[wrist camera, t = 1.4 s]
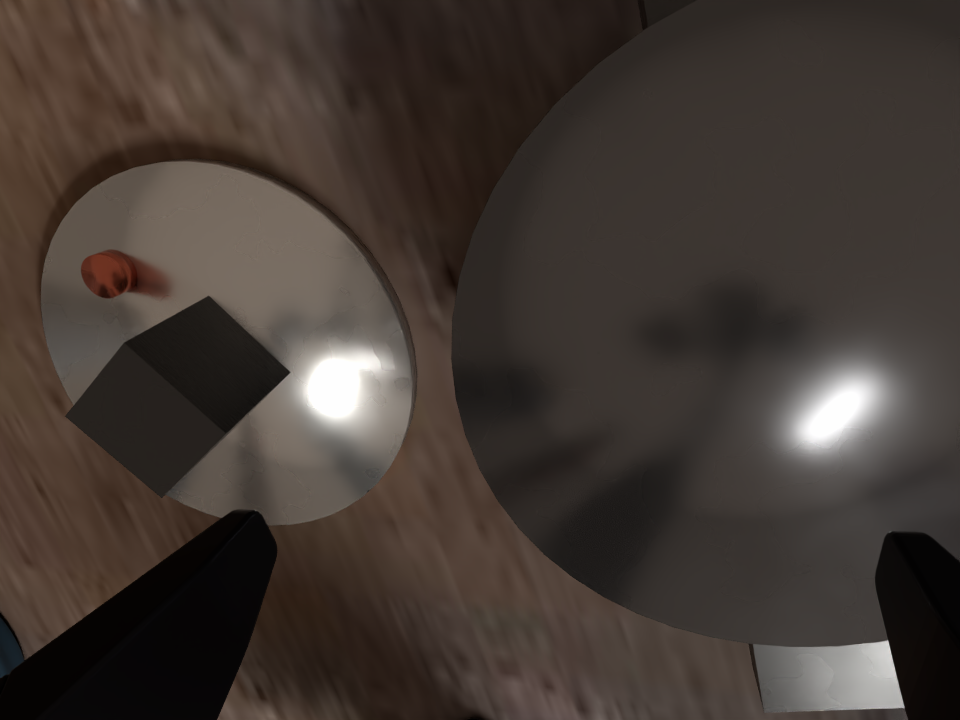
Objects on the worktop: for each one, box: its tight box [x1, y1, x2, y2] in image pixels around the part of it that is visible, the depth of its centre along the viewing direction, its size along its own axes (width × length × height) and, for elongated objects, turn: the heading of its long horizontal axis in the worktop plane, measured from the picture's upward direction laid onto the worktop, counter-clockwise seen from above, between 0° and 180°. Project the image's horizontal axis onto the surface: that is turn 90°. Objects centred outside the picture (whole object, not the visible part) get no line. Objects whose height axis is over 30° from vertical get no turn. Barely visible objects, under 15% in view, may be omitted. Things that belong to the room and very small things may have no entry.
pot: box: [451, 0, 960, 713], centre depth 17 cm, size 23×16×7 cm
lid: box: [41, 159, 417, 525], centre depth 22 cm, size 15×15×6 cm
